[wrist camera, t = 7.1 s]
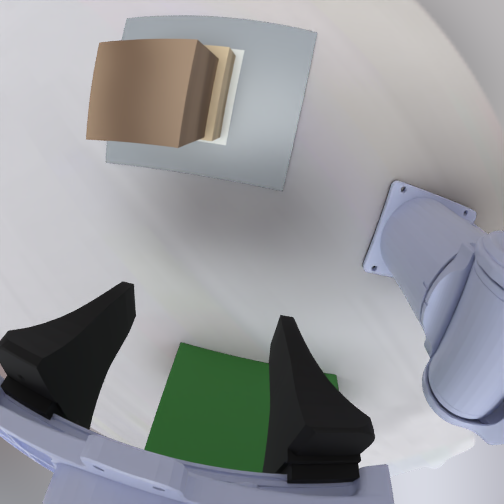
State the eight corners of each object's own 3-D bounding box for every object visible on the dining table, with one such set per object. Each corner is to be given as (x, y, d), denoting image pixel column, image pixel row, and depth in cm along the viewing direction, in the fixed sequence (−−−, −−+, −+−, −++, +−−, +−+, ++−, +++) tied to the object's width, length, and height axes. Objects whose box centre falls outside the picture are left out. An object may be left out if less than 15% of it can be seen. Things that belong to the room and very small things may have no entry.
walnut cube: (218, 58, 14) (197, 39, 9) (204, 137, 16) (178, 148, 12) (141, 55, 14) (99, 42, 9) (130, 129, 16) (86, 139, 12)
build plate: (316, 34, 15) (317, 32, 15) (282, 189, 21) (282, 191, 20) (130, 20, 15) (126, 18, 14) (109, 161, 21) (105, 163, 20)
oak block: (235, 55, 16) (229, 47, 13) (219, 137, 19) (211, 141, 16) (153, 50, 16) (136, 44, 13) (141, 128, 19) (123, 131, 16)
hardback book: (176, 380, 32) (125, 558, 11) (180, 342, 29) (112, 562, 8) (311, 407, 33) (315, 578, 12) (336, 374, 30) (355, 578, 9)
